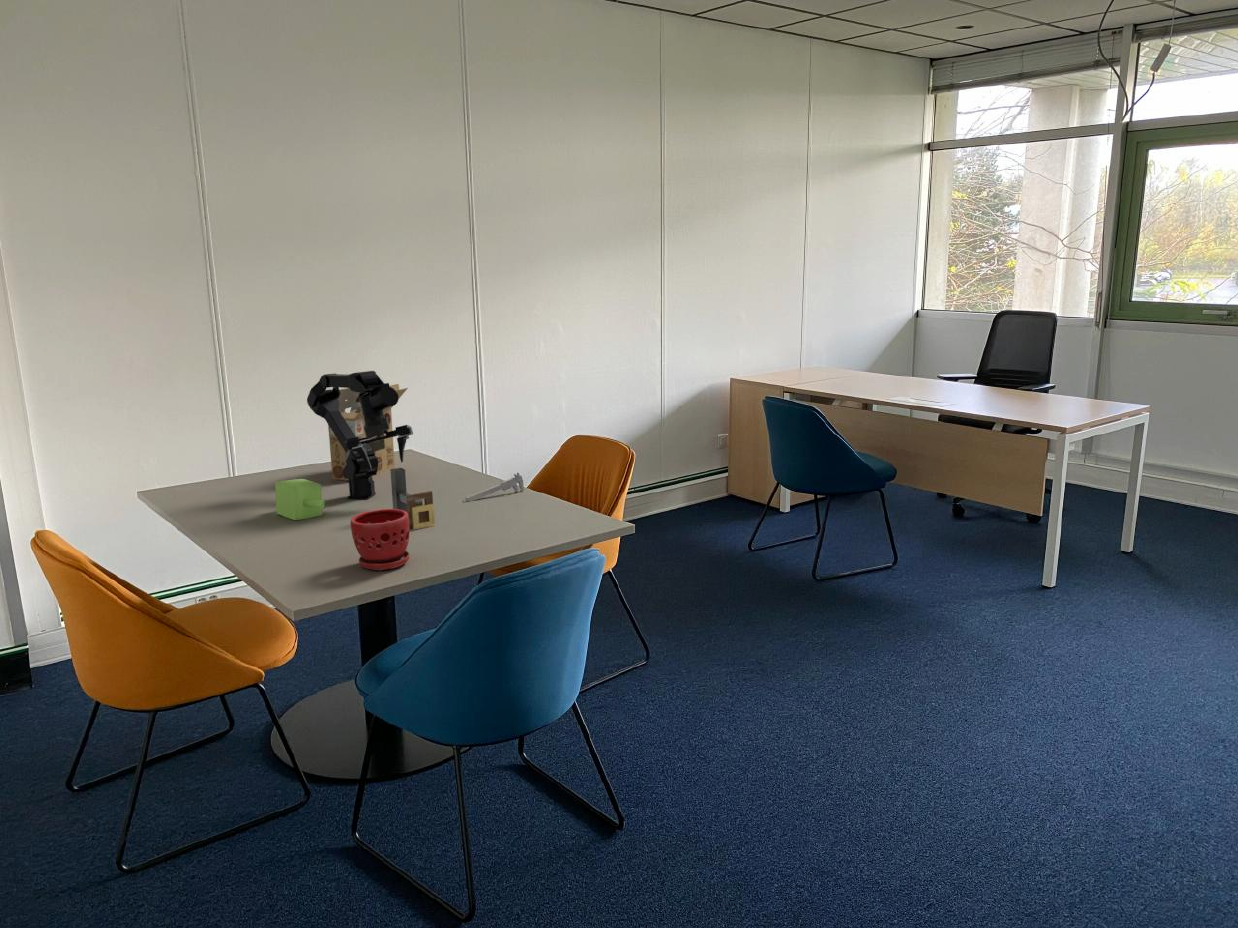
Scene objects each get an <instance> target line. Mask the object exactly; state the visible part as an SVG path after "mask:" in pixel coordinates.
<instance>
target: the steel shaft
mask: <svg viewBox="0 0 1238 928" xmlns="http://www.w3.org/2000/svg"><path fill="white" fill-rule="evenodd" d="M389 471H390V483H391V485H390V486H391V497H392V509H398V510H403V511H406V512H407V497H406V495H410V494H411V493H408V492H407V479H406V477H407V476H406V469H405V468H402V467H397V468H394V469H390V470H389ZM415 502H416V506H418V505H424V503H423V502H424V501H423V499H419V500H415Z"/></svg>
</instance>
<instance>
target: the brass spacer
mask: <svg viewBox="0 0 1238 928" xmlns="http://www.w3.org/2000/svg"><path fill="white" fill-rule="evenodd" d="M423 511H427V521H421V522H419V515H418V512H423ZM411 519H412V528H411V529H412V530H413V531H414V530H415V531H416V530H419V529H424V528H430V527H435V526H436V523H435V506H434V503H433V504H432V503H430V504H424V503H423V505H418V506H413V507H411Z"/></svg>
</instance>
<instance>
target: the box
mask: <svg viewBox="0 0 1238 928" xmlns="http://www.w3.org/2000/svg"><path fill="white" fill-rule="evenodd" d="M389 386H390V387H392V388H393V389H394V390H395V391H396V392H397V393H398V397H399V399H401V398H402V396H403V395H404V393H405V392H407V390H408V388H409V387H405V388H400V384H399V383H396V384H395V383H394V384H392V385H391V384H390V385H389ZM339 391H340V396H339V398H338V400H339V408H338V409H339V411H340V413H341V414H342V416H343V417H344V419H345V421H346V422H347V424H348V425H349V427H350V428H351V430H352V431H353V433H354V434H355V436H356V437H361V438H365V437H366V434H365V431H364V426H365V420H364V416H363V412H362V408H361V404H360V402H356V399H357V397H358V395H359V393H360V392H354V391H351V390H350V388H339ZM366 394H367V393H366ZM393 407H394V406H392V407H389V408H387V409H384V410H383V413H384V417H385V418H386V417H387V420H388V422H389V426H390V428H389V429H388V432H390V431H394V430H393V417H392V415H393V414H392V408H393ZM346 409H350V410H349V412H347V411H346ZM327 427H328V436H329V437H328V439H329V441H328V442H329V453H330V464H331V476H332V477H331V479H332V480H335V479H342V480H341V481H347V480H349V479H346V478H344V476H343V472H342V471H343V469H344V468H345V466H346V452H345V450H344V448H343V447H342V445H341V444H340V442H339V441H338V439H337V438H336V436H335V434H334V433H333V431H332V430H331V428H330V427H329V425H328V424H327ZM385 435H386V434H383V435H382V436H385ZM375 437H377V436H375ZM372 438H374V437H372ZM375 439H376V438H375ZM366 444H369V445H370V446H371V448H372V450H373V451H374V452H375V453H376V454H375V455H376V457H377V458H378V469H377V474H378V475H380V474H383V473H385V472H388V471H390V469H395V467H396V466H395V465H396V464H395V462H396V461H395V448H394V447H395V446H394V437H391V438H387V439H383V440H379V441H375V442H371V443H366ZM363 445H364V444H363ZM382 472H383V473H382ZM372 477H375V476H374V475H373V476H372Z"/></svg>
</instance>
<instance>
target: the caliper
mask: <svg viewBox="0 0 1238 928" xmlns="http://www.w3.org/2000/svg"><path fill="white" fill-rule="evenodd" d="M518 486H519V488H518ZM511 488H512V489H513V490H514V491H515V493H519V490H520V492H524V489H525V488H524V480H523V477H522V475H520V473H519V472H516V473H514V474H513V477H511V478H508V479H506V480H503V481H500V483H499V484H497V485H494V486H492V487H489V488H487V489H484V490H481V491H478V492H476V493H474V494H471V495H468V496H466V497H465V499H463V500H461V501H462V503H467V502H473V501H475V500H476V501H477V500H478V499H480V498H483V497H486V496H489V495H491V494H493V493H497V492H500V491H501V490H502V491H503V492H505V491H507V490H510V489H511Z"/></svg>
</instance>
